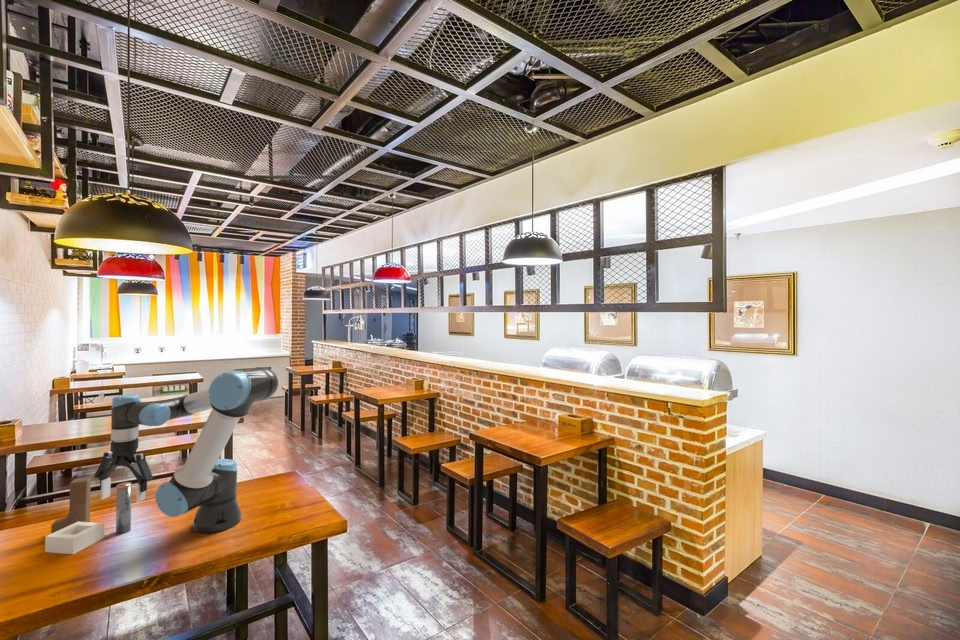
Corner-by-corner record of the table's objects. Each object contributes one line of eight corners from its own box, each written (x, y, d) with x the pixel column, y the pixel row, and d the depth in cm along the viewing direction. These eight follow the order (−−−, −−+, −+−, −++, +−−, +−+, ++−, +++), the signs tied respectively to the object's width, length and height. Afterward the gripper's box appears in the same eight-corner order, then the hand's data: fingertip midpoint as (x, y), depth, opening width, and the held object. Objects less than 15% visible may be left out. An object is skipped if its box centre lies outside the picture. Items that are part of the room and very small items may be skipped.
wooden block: (50, 538, 143) (51, 485, 143) (56, 531, 147) (57, 480, 147) (85, 532, 147) (86, 480, 147) (90, 526, 151) (91, 476, 151)
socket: (104, 538, 144) (104, 523, 144) (73, 554, 134) (73, 538, 134) (77, 536, 145) (78, 521, 145) (45, 552, 135) (45, 536, 135)
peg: (133, 528, 150) (134, 482, 150) (123, 534, 146) (124, 486, 146) (123, 528, 151) (124, 481, 151) (112, 533, 147) (113, 486, 147)
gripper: (166, 438, 151) (164, 497, 151) (103, 433, 153) (101, 492, 154) (147, 444, 143) (145, 506, 144) (82, 439, 146) (80, 500, 146)
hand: (123, 499), depth 149 cm, fingers open, 13 cm apart
